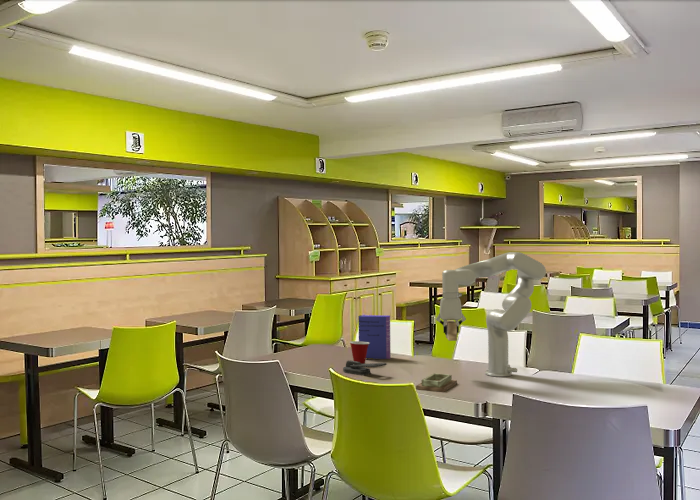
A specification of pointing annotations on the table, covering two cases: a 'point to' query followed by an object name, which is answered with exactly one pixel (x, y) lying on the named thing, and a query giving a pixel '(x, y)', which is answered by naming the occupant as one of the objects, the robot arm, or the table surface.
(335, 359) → the table surface
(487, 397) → the table surface
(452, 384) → the notch board
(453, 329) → the tan rectangular block
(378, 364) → the dark grey long piece
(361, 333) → the cereal box
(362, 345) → the plastic cup
